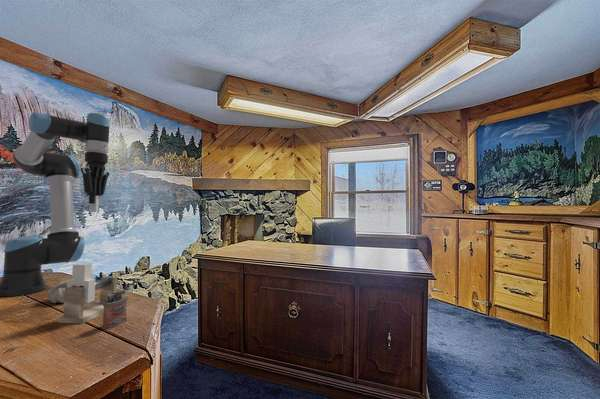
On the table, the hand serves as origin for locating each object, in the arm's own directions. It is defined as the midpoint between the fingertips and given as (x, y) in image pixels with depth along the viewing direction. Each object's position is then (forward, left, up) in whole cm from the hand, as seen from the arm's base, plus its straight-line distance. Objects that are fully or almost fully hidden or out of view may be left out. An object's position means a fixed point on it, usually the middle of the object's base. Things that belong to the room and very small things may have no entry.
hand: (93, 211), depth 116 cm
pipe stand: (+18, 0, -34) cm, 39 cm away
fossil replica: (-5, -8, -35) cm, 36 cm away
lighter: (+34, +5, -35) cm, 49 cm away
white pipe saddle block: (+22, -3, -29) cm, 37 cm away
